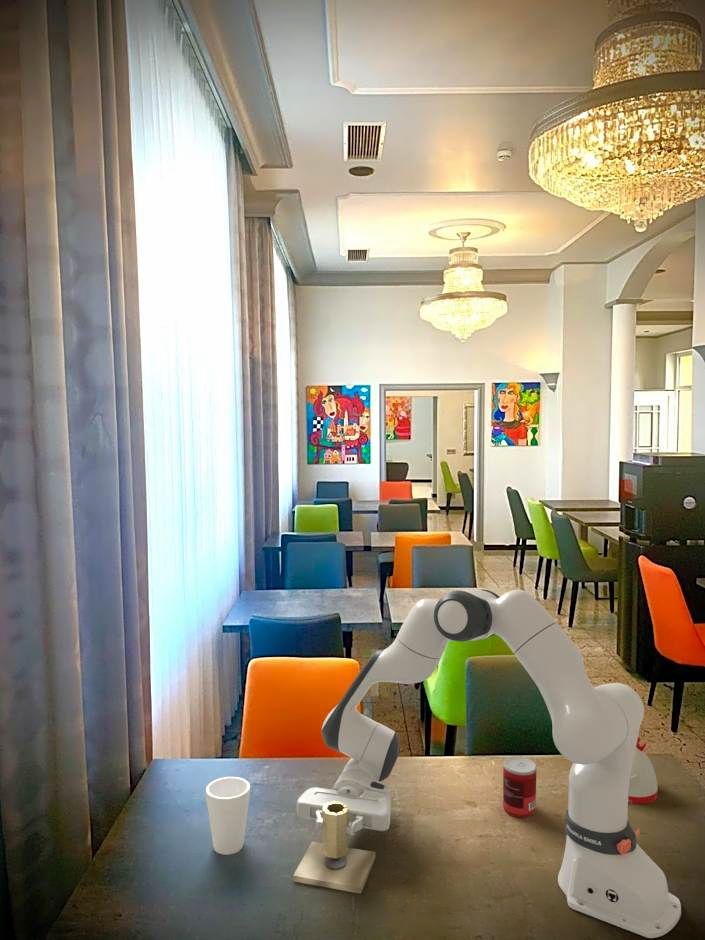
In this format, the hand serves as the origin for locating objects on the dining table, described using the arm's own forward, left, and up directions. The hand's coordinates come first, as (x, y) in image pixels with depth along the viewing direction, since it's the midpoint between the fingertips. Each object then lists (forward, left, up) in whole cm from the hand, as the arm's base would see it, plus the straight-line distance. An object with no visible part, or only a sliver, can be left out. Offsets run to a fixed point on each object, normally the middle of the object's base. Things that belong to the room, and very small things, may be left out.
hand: (334, 829), depth 143 cm
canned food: (-14, -48, -9) cm, 51 cm away
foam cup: (+22, +10, -9) cm, 26 cm away
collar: (0, -1, -5) cm, 5 cm away
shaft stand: (0, -1, -9) cm, 9 cm away
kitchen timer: (-28, -76, -9) cm, 81 cm away
